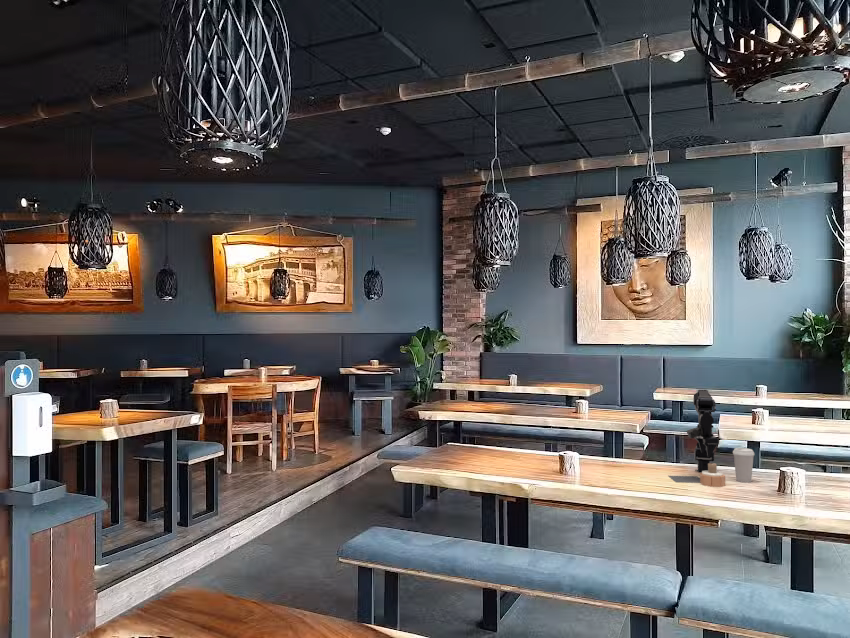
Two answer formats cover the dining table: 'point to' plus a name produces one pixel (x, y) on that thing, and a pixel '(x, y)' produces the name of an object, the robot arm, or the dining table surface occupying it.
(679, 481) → the trivet
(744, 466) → the coffee cup
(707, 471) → the lid
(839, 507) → the dining table surface
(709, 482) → the bowl
